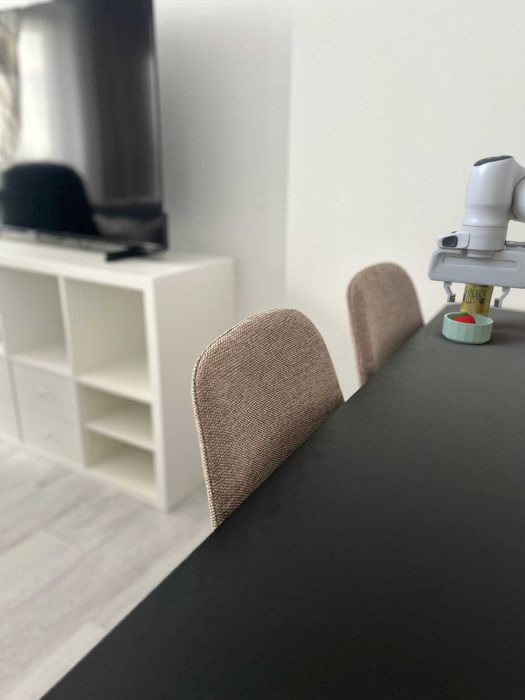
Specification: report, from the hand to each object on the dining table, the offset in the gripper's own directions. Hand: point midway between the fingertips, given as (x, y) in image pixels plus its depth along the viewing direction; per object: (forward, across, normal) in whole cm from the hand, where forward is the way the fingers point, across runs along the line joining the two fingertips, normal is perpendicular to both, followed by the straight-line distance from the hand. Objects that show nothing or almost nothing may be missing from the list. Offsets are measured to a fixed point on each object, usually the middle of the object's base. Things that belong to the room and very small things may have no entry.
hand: (473, 304), depth 111 cm
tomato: (+7, +1, 0) cm, 7 cm away
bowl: (+8, +1, 0) cm, 8 cm away
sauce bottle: (+8, +1, -11) cm, 14 cm away
